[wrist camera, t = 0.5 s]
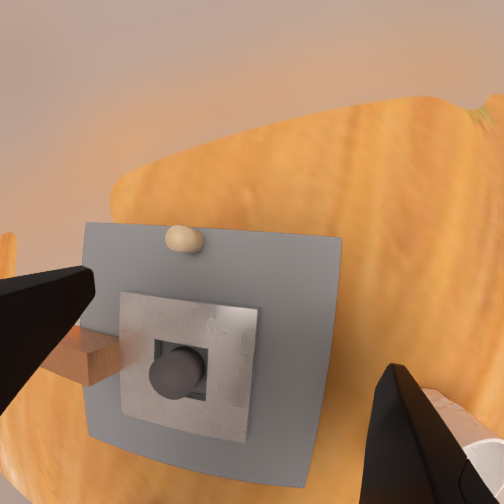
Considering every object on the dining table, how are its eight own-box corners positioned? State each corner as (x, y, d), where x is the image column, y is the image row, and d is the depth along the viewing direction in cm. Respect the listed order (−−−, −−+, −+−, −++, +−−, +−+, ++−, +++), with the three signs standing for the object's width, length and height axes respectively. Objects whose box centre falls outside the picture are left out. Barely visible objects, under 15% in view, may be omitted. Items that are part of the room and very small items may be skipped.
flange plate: (259, 307, 20) (246, 320, 15) (247, 436, 20) (233, 474, 15) (59, 278, 23) (18, 279, 18) (63, 384, 23) (27, 399, 18)
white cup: (372, 385, 20) (411, 457, 10) (461, 374, 19) (530, 422, 9) (360, 466, 20) (378, 549, 10) (443, 453, 18) (487, 519, 9)
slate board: (304, 479, 20) (303, 510, 16) (95, 430, 24) (71, 448, 19) (339, 239, 21) (348, 232, 17) (94, 223, 24) (62, 217, 20)
